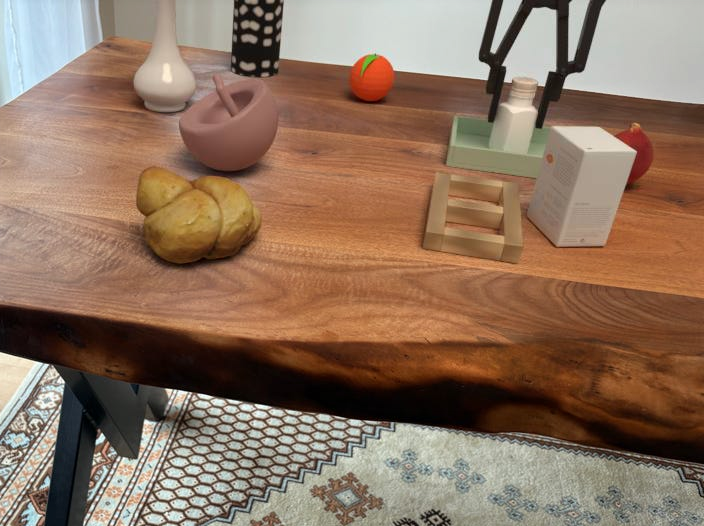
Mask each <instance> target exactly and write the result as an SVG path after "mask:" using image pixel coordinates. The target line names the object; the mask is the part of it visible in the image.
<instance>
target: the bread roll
mask: <svg viewBox="0 0 704 526" xmlns="http://www.w3.org/2000/svg"><path fill="white" fill-rule="evenodd" d="M253 203H254V202H253V200H252V198H251V196H250V194H249V193H248V192H247V190H245V189H244V187H242V186H241V184H239V183H237V182H235V181H233V180H231V179H230V178H227V177H225V176H224V177H223V176H219V175H204V176H200V177H197V178H195V179H193V180H189V179H187V178H186V177H184V176H181V175H179V174H177V173H176V172H173V171H171V170H168V169H166V168H164V167H160V166H156V165H154V166H150V167H147V168H145V169H143V170H142V171H141V173H140V174H139V178H138V183H137V189H136V198H135V206H136V208H137V210H138V211H139V213H140V214H141V215H143V216H144V217H145V218H144V219H143V223H142V224H143V229H144V234H145V242H146V243H147V244H148V246H150V248H151V249H152V250H153V252H154V253H155V254H156V255H157V256H159V257H160V258H162V259H164V260H165V261H167V262H171V263H175V264H186V263H193V262H196V261H199V260H200V259H202V258H206V259H207V260H208V259H209V260H214V259H219V258H220V259H221V258H225V257H230V256H233V255H236V254H237V252H238V251H239V250H240V248H241V247H242V246H243V245H247V244H248V243H249V242H251V240H253V238H254V237H255V236H256V235H257V234H258V233H259V232H260V230H261V227H262V224H263V223H262V222H263V216H262V212H261V211H260V209H259V208H258V207H257V206H255V204H253Z"/></svg>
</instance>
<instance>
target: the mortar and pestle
mask: <svg viewBox="0 0 704 526" xmlns="http://www.w3.org/2000/svg"><path fill="white" fill-rule="evenodd" d="M212 80H213V82H214V83H213V84H214V85H215V90H214V91H212V92H210V93H208V94H206V95H204V96H203V97H201V98H199V100H197V101H196V102H194V103H193V104H192V105H191V106H190V107H189V108H187V109H186V111H184V112H183V113H182V115H181V116H180V118H179V119H178V129H179V133H180V136H181V139H182V141H183V144H184V146H185V147H186V149H187V151H188V152H189V153H190V154H191V155H192V156H193V158H195V159H196V160H197V161H198V162H199V163H201V164H202V165H203V166H206V167H207V168H210V169H213V170H217V171H220V172H237V171H241V170H244V169H247V168H249V167H251V166H252V165H254V164H256V163H258V162H259V161H260V160H261V159H262V158H264V156H265V155H267V153H268V151H269V150H270V148H271V147H272V145H273V143H274V141H275V138H276V135H277V133H278V129H279V128H278V127H279V109H278V105H277V102H276V99H275V97H274V94H273V93H272V90H271V89H270V88H269V86H268V85H267V83H265V81H264V80H263V79H258V77H253V78H247V79H243V80H239V81H236V82H232V83H230V84H228V85H225V83H224V80H223V78H222V75H221V74H220V73H219V72H218V73H213V75H212Z"/></svg>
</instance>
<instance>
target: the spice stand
mask: <svg viewBox="0 0 704 526" xmlns="http://www.w3.org/2000/svg"><path fill="white" fill-rule="evenodd" d="M433 178H434V179H433V182H432V183H433V184H432V188H431V195H430V200H429V207H428V212H427V218H426V225H425V231H424V235H423V242H422V249H424V250H429V251H434V252H435V251H436V252H440V253H441V252H442V253H448V254H455V255H461V256H467V257H473V258H479V259H486V260H492V261H498V262H505V263H511V264H516V265H517V264H519V263H520V259H521V256H522V253H523V249H524V240H523V225H522V213H521V199H520V188H519V186H520V185H519V183H517V182H510V181H501V180H495V179H488V178H481V177H474V176H468V175H461V174H460V175H459V174H453V173H445V172H440V171H439V172H438V171H436V172H435V173H434V177H433ZM449 196H451V197H458V198H464V199H473V200H479V201H486V202H492V203H498V205H493V204H486V203H480V202H472V201H466V200H460V199H453V198H449ZM446 222H448V223H453V224H460V225H467V226H474V227H479V228H480V227H481V228H486V229H494V230H499V231H498V232H499V234H494V233H493V234H492V233H487V232H480V231H474V230H466V229H460V228H454V227H447V226H446Z"/></svg>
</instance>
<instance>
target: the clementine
mask: <svg viewBox="0 0 704 526" xmlns="http://www.w3.org/2000/svg"><path fill="white" fill-rule="evenodd" d="M394 82H395V70H394V67H393V65H392V63H391V62H390V60H388V59H387V58H386V57H385V56H383V55H381V54H377V53H374V54H365V55H364V56H361V57H360V58H359V59H358V60H357V61H356V62H355V63H353V66H352V68H351V70H350V73H349V86H350V89H351V91H352V92H353V94H354V95H355V96H356V97H357V98H358V99H360V100H362V101H365V102H375V101H379V100H381V99H383V98H385V97H386V96H387V94H388V93H389V92H390V91H391V90H392V88H393V85H394Z"/></svg>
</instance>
